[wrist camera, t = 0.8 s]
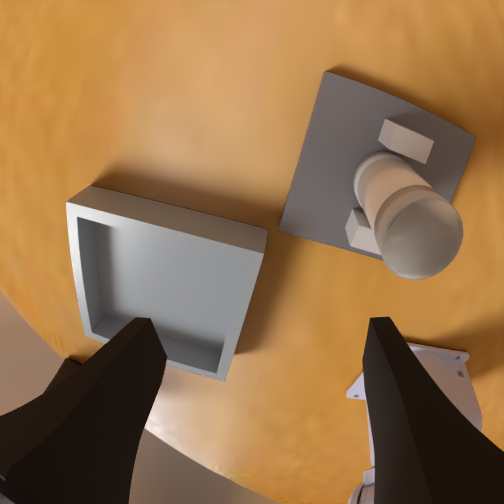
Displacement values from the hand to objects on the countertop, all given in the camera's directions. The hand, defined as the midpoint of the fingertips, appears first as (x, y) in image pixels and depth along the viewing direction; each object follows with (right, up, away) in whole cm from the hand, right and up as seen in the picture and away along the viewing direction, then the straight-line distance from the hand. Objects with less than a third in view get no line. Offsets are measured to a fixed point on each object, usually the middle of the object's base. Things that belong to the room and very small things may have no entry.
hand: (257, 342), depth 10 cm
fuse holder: (+7, +7, +6) cm, 11 cm away
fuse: (+7, +7, +5) cm, 11 cm away
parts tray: (-6, +1, +12) cm, 13 cm away
